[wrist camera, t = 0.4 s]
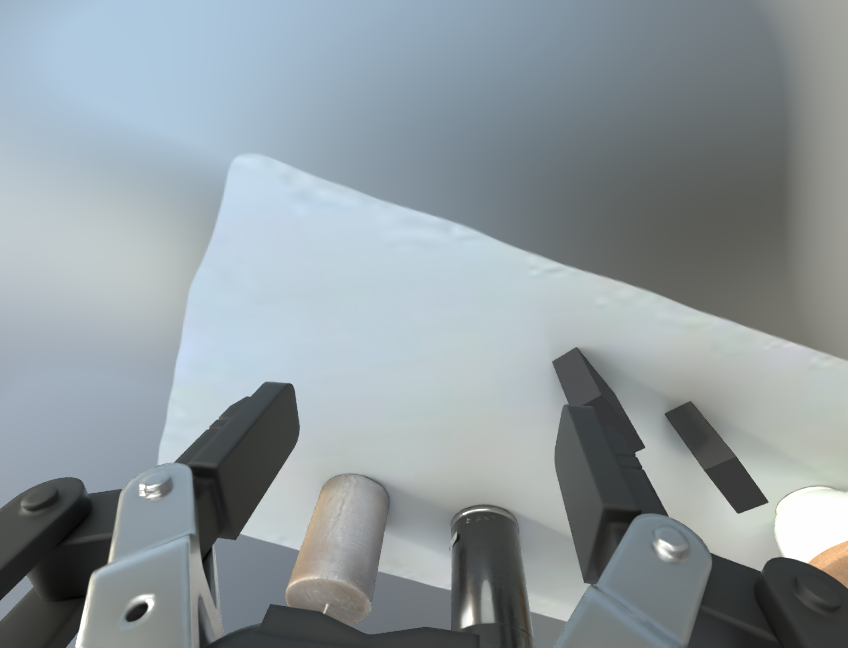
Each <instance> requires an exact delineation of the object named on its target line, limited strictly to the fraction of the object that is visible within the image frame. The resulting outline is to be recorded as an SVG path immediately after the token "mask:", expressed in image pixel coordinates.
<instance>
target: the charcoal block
mask: <svg viewBox="0 0 848 648" xmlns="http://www.w3.org/2000/svg"><path fill="white" fill-rule="evenodd" d="M553 365H554V368H555V370H556V373H557V375H558V378H559V380H560V383H561V385H562V388H563V390H564V393H565V395H566V398H567V400H568V403H569V405H578V406H591V407H593V408H594V409H595V411H596V413H597V416H598V418H599V420H600V422H601V424H602V426H613V427H614V428H615V429H616V430H617V431H619V432H620V433H621V434H622V435H623V436H624V437H625V438H626V439H627V440H628V441H629V443H630V445H631V447H632V449H633V451H634V453H635V452H637V451H640V450H642V449H644V448H645V446H644V444H643V442H642V441H641V439H640V437H639V435H638V434H637V432H636V430H635V428H634V427H633V425H632V423H631V422H630V420H629V418H628V416H627V415H626V413H625V411H624V409H623V408H622V406H621V404H620V402H619V401H618V399H617V397H616V395H615V394H614V393H613V391H612V390H611V389H610V388H609V386H608V385H607V384H606V383H605V381H604V380H603V379H602V378H601V377H600V375H599V374H598V373H597V372H596V370H595V369H594V368H593V367H592V365H591V364H590V363H589V362H588V360H587V359H586V358H585V357H584V356H583V354H582V353H581V352H580V351H579V349H578V348H577V347H576V348H574V349H573V350H571V351H569V352H568V353H566V354H564V355H563V356H561V357H559V358H558V359H556V360H554V361H553Z"/></svg>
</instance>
